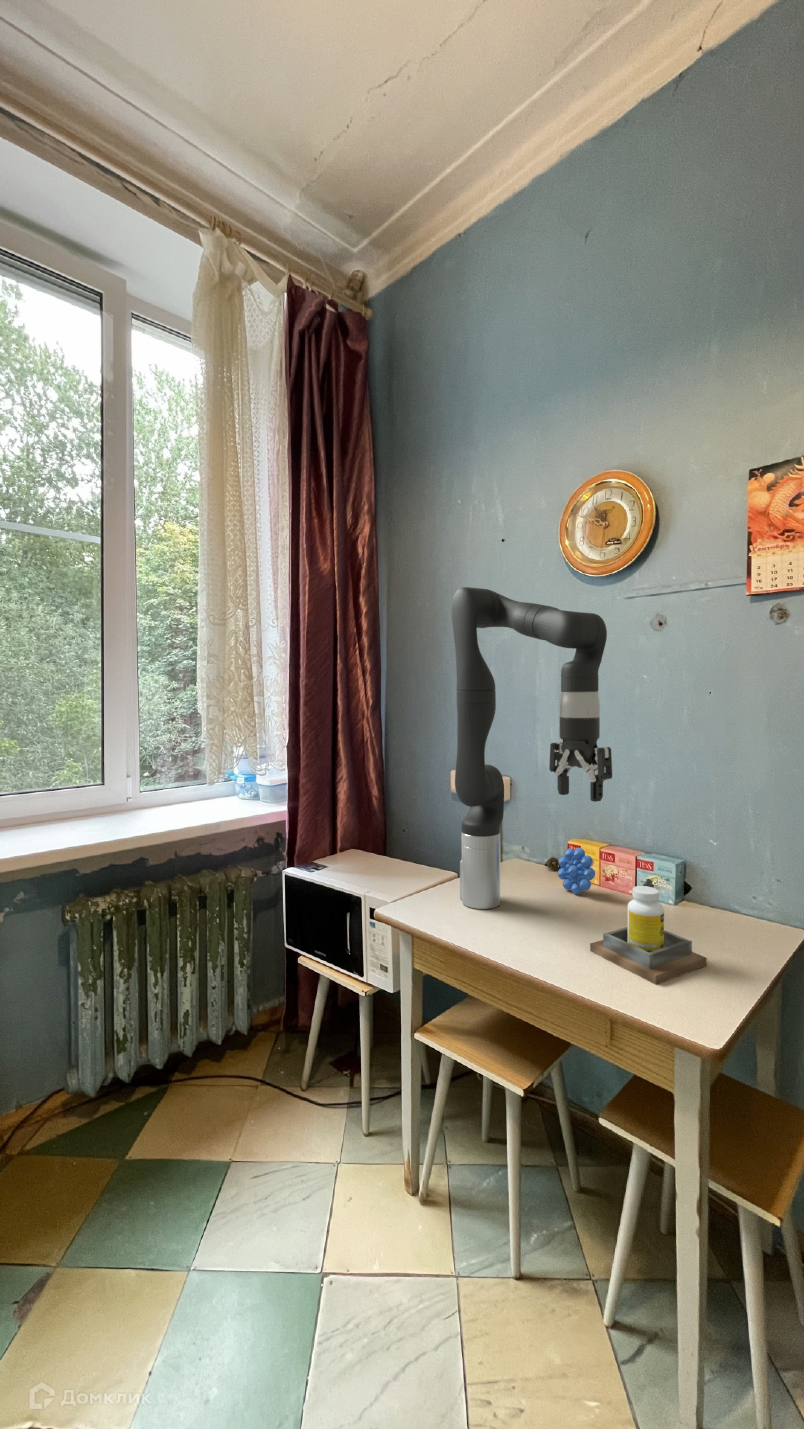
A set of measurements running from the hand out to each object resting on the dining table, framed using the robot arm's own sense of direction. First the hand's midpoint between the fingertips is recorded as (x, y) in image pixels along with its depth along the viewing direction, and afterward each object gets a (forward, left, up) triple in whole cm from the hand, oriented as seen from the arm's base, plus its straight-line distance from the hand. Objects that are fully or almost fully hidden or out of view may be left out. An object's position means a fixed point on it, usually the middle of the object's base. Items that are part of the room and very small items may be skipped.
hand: (579, 797), depth 115 cm
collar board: (+10, +8, -30) cm, 33 cm away
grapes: (-23, +23, -30) cm, 44 cm away
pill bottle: (+9, +8, -29) cm, 31 cm away
